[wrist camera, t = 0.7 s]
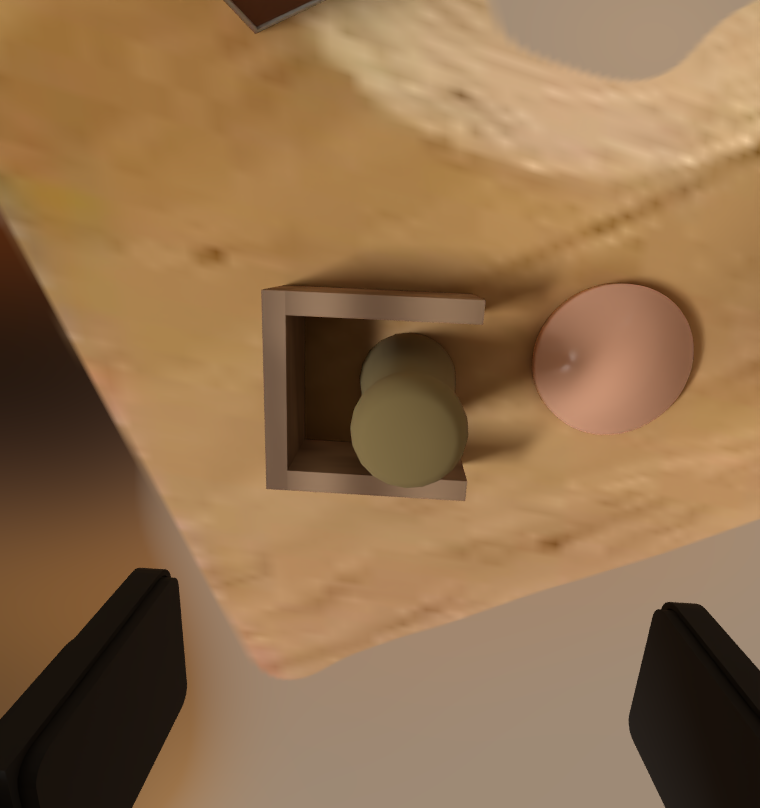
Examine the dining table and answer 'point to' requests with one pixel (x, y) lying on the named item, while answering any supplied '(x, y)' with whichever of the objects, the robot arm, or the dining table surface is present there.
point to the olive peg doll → (408, 412)
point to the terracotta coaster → (612, 358)
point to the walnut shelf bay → (285, 385)
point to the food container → (268, 11)
